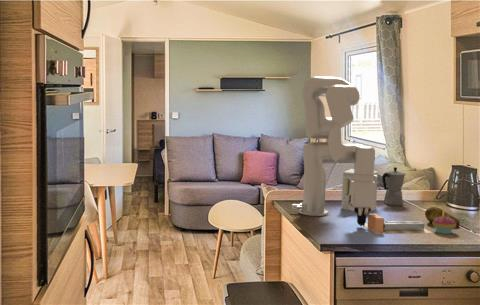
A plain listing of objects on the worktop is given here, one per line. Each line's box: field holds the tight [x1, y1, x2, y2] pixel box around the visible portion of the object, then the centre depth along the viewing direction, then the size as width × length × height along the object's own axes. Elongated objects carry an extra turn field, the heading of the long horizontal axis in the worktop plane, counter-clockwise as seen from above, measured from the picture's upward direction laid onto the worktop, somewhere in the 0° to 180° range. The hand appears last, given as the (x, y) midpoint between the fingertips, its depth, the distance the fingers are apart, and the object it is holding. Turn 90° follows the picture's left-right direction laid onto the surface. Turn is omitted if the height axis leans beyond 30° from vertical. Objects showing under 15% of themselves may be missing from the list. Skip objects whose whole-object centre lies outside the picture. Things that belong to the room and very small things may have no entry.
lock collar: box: [367, 213, 385, 233], centre depth 208 cm, size 3×8×5 cm, turn 9°
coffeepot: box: [381, 166, 406, 206], centre depth 266 cm, size 15×9×18 cm, turn 124°
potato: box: [424, 206, 460, 228], centre depth 220 cm, size 8×13×8 cm, turn 44°
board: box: [363, 221, 433, 235], centre depth 213 cm, size 23×18×1 cm
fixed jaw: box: [383, 221, 425, 231], centre depth 210 cm, size 17×4×4 cm, turn 99°
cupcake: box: [431, 204, 457, 235], centre depth 208 cm, size 9×8×12 cm
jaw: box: [385, 220, 423, 223], centre depth 211 cm, size 14×2×3 cm, turn 99°
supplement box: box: [340, 168, 379, 212], centre depth 253 cm, size 13×13×18 cm
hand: (361, 224), depth 211 cm, fingers closed
